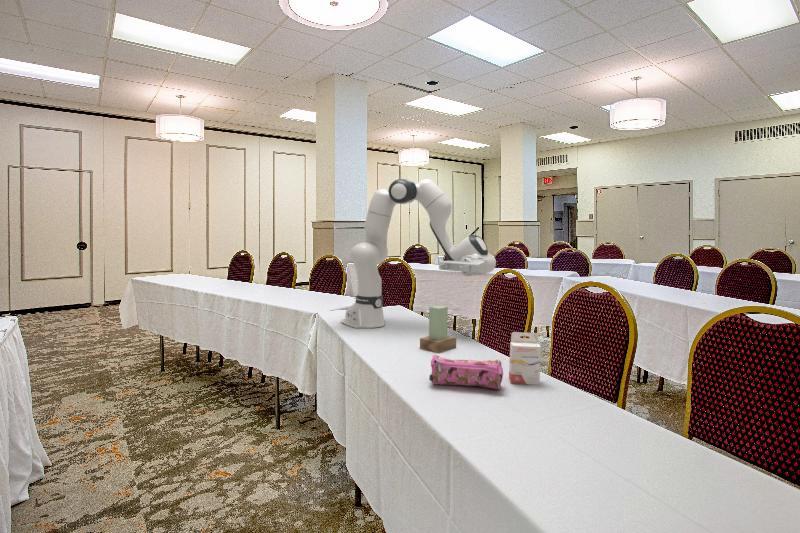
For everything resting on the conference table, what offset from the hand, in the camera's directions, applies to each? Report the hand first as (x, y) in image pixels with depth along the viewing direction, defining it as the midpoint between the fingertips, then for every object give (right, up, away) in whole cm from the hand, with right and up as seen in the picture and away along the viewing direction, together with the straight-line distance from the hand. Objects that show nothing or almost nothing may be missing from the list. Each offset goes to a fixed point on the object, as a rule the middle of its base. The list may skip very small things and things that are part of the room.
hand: (450, 267), depth 190 cm
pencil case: (0, -35, -51) cm, 62 cm away
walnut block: (-6, -31, -9) cm, 33 cm away
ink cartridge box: (+18, -35, -47) cm, 61 cm away
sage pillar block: (-6, -27, -9) cm, 29 cm away
